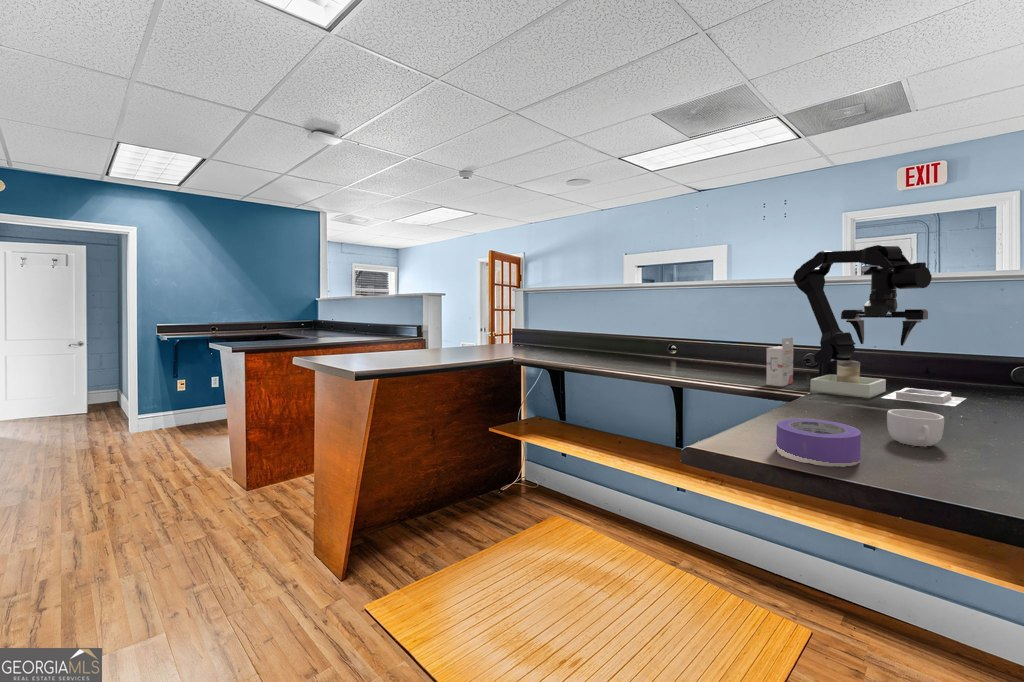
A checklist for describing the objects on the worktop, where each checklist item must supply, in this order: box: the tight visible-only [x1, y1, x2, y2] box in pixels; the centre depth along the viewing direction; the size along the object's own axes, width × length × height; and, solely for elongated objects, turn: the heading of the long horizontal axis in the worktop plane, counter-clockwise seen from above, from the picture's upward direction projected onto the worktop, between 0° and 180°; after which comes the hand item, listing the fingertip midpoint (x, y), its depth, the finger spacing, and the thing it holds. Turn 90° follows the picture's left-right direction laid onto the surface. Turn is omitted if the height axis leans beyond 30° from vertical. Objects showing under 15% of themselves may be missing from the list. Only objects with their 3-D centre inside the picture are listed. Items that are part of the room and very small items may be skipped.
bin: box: [809, 374, 887, 399], centre depth 129 cm, size 14×14×4 cm
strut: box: [837, 360, 861, 384], centre depth 128 cm, size 4×4×8 cm
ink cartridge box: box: [765, 336, 795, 388], centre depth 145 cm, size 9×5×15 cm, turn 129°
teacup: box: [886, 408, 945, 447], centre depth 82 cm, size 10×8×5 cm
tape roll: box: [775, 418, 862, 463], centre depth 77 cm, size 12×12×5 cm
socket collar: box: [880, 387, 967, 407], centre depth 118 cm, size 14×14×2 cm
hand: (881, 344), depth 133 cm, fingers open, 9 cm apart
